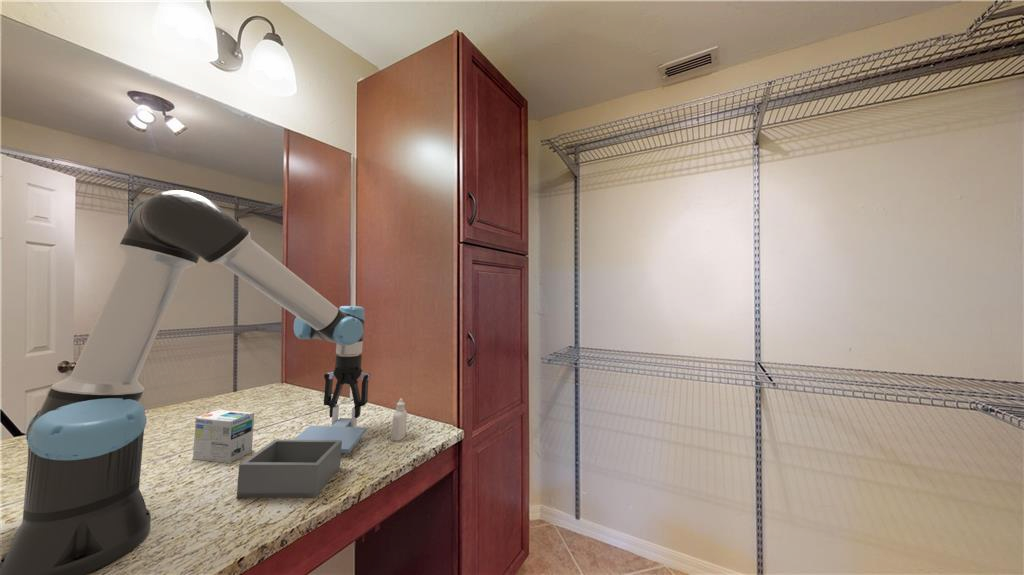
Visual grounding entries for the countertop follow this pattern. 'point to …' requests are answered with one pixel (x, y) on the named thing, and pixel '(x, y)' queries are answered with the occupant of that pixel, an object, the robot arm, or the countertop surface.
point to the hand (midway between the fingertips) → (344, 427)
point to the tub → (289, 469)
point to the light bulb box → (223, 435)
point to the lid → (335, 433)
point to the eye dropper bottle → (399, 422)
